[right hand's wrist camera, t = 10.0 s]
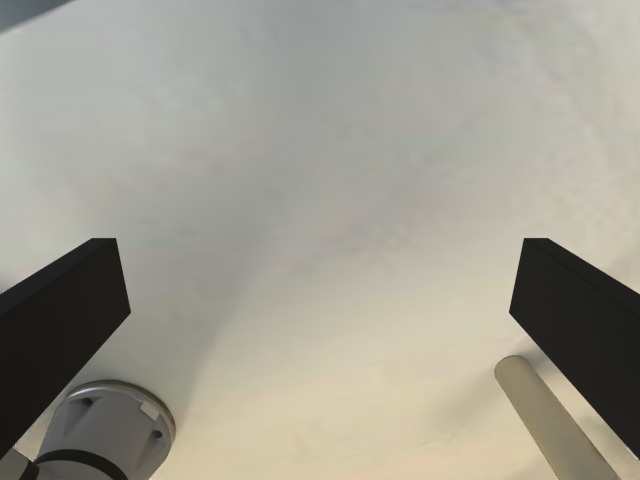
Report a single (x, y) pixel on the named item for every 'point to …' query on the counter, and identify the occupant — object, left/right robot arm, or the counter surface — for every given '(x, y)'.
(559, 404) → the beige cylinder
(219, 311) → the counter surface
